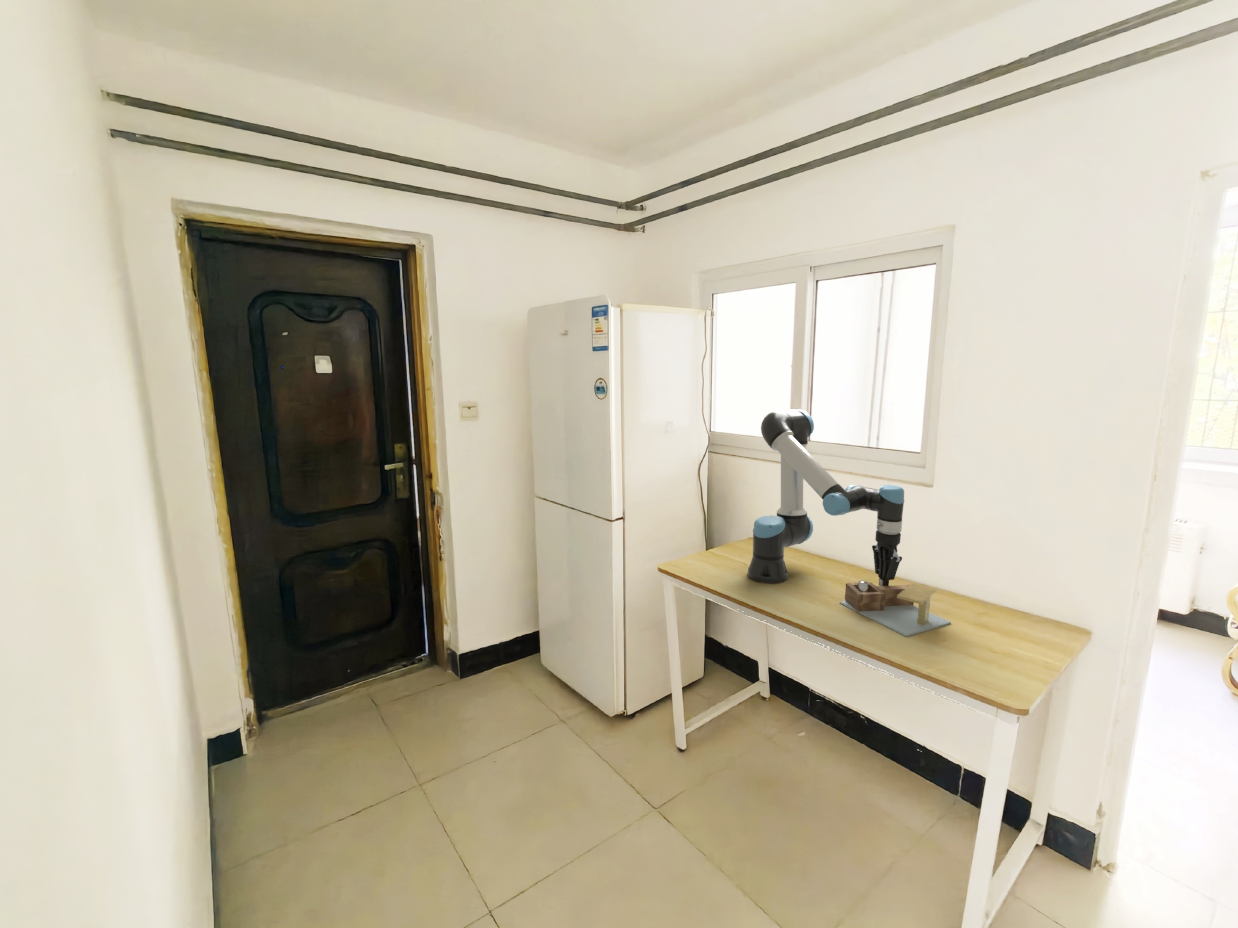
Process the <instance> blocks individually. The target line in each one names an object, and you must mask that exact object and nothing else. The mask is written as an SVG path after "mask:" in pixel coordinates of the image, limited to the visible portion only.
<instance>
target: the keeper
mask: <svg viewBox="0 0 1238 928" xmlns="http://www.w3.org/2000/svg"><path fill="white" fill-rule="evenodd" d="M908 585H909V586H908V587H907V588H906V589H904V590H903V591H902V592H901V593H899V594H898V595H897V598H900V599H904V600H907V601H911V602H914V603H915V604H918V606H917V607H918V619H917V623H919V624H922V625H925V624H926V623H927V622H928V619H929V612H930V607H931V598H932V596H933V595H934V594H935V593H936V589H934V588H932V587H926V586H924V585H919V584H914V583H910V584H908Z"/></svg>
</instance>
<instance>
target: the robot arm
mask: <svg viewBox="0 0 1238 928" xmlns="http://www.w3.org/2000/svg"><path fill="white" fill-rule="evenodd" d="M760 424H761V425H760V431H761V435H762V436H761V437H762V438H763V439H764V441H765V443H766V444H767V446H768V447H770V448H771V450H772V451H775V452H776V451H777V452H778V453H779V455H780V506H779V509H777V510H776V515H764V516H761V517H758V518H757V519H755V520H754V522H753V529H752V532H753V533H752V537H753V538H752V557H751V558H752V559H751V560H750V564H749V566H748V567H747V577H748V578H749V579H750V580H752V581H755V582H757V583H762V584H774V585H775V584H780V583H784V582H786V581H787V580H788V577H789V576H788V569H787V566H786V563H785V562H786V561H785V559H784V557H785V548H789V547H793V546H796V545H801V544H802V543H804V542H806V541H808V540H809V539H810V538H811V537H812V534H813V532H814V524H813V521H812V520H811V518H810V516H809V515H808V511H807V510H806V509H805V508H804V481H805V482H806V483H807V484H808V485H809V487H810V488H811V489H813V491H814V492H815V493H816V494H817V495H818V496H819V497H820V498H821V499H822V507H823V509H824V512H825V513H827V514H828V515H830V516H833V517H834V516H835V517H836V516H843V515H844V516H845V514H849V513H852V512H856V511H860V510H867V511H872V512H876V513H877V515H876V516H877V517H876V518H877V519H876V521H877V522H876V530H875V538H874V540H875V541H876V543H877V544H874V545H873V544H872V546H871V549H872V551H873V563H874V573H875V574H876V575H877V576H878V578H879V579H878V586H890V581H893V580H895V577H896V575H897V571H898V569H899V566H900V563H901V562H902V560H903V557H902V556H899V555H898V546H899V545H900V543H901V539H902V538H901V536H902V534H901V533H902V529H903V528H902V526H903V511H904V504H905V490H904V488H903V487H901V486H898V485H891V484H885V485H884V484H883V485H881V486H880V487H879V489H876V488H872V487H867V486H863V485H858V484H857V485H856V484H849V485H848V486H847V487H846V488H844V487H843V486H842V485H841V484H839V483H838V481H837V480H836V479H835V478H834V477H833V476H832V475H831V474H830V472H828V471H827V470H826V469H825V468H824V467H823V466H822V465H821V464H820V463H819V462H818V461H817V460H816V459H815V458H814V457H813V456H812V454H810V452H809V451H808V450H807V449H805V448H806V447H807V445H808V444H809V443H808V442H809V441H808V438H810V436H811V435H812V434H813V432H814V429H815V424H814V420H813V417H812V416H811V415H810V414H809V413H808V412H807V411H806V410H803V409H795V408H793V409H788V410H787V409H785V410H775V411H774V410H773V411H772V412H769V413H767V414H766V416H765V417H764V418H763V420H762V421H761V423H760Z"/></svg>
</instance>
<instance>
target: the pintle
mask: <svg viewBox="0 0 1238 928" xmlns="http://www.w3.org/2000/svg"><path fill="white" fill-rule="evenodd" d="M858 583H859V584H858V590H859V591H860V592H868V583H869V581H867V580H864V579H863V580H861V579H860V580H858Z"/></svg>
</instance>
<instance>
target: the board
mask: <svg viewBox="0 0 1238 928" xmlns="http://www.w3.org/2000/svg"><path fill="white" fill-rule="evenodd" d="M839 604H841V605H842V606H845V608H846V607H847V608H848V609H850V610H851V611H854V612H855V613H858V614H860V615H862V616H864V617H866V618H869V619H870V620H872V621H874V622H876V623H878V624H879V625H882V626H884V627H886V628H888V629H890V630H892V631H894V632H895V633H898V634H899V635H902V636H904V637H907V638H908V637H910V636H914V635H918V634H919V633H923V632H927V631H931V630H934V629H937V628H940V627H945V626H947V625H948V626H949V625H951V624H952V622H951V621H950V620H947V619H946V618H942V617H941V616H939V615H936V614H934V613H932V612H930V611H929V619H928V622H927V623H926V624H925V625H922V624H919V623H917V619H918V607H919V606H916V605H906V606H884V611H856V610H855V609H854V608H853V607H852V606H851V605H850V604H849V603H848V602H847V601H846V600H845V599H844V600H840V601H839Z"/></svg>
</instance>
